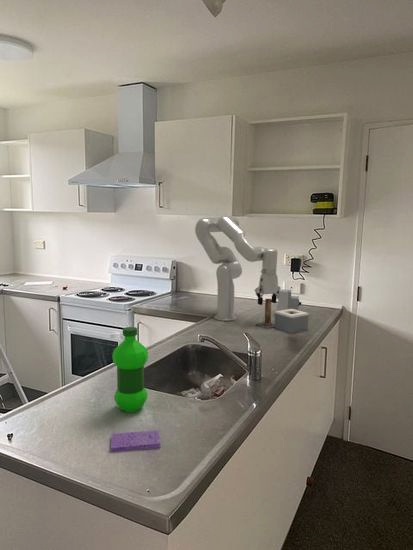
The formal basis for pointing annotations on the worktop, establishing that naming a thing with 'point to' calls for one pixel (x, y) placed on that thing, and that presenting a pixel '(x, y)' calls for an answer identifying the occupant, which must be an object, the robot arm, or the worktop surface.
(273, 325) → the rubber mat
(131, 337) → the plastic bottle
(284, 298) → the circuit breaker
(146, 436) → the sponges
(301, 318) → the square socket block
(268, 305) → the wooden pepper mill
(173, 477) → the worktop surface
